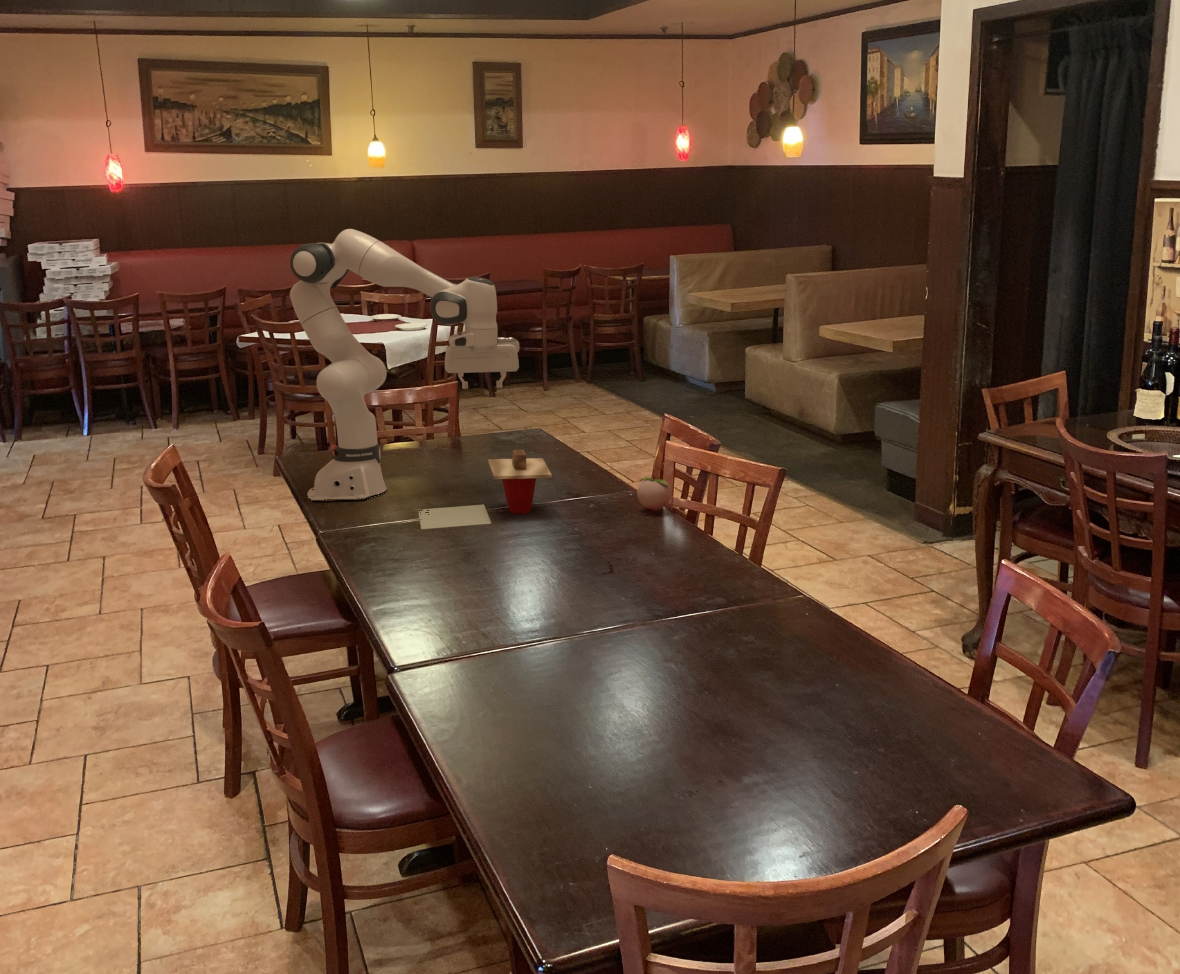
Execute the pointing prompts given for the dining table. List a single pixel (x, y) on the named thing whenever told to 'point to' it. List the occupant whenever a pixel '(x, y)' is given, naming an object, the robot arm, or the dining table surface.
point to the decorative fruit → (654, 493)
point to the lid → (519, 467)
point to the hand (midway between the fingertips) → (482, 388)
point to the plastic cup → (519, 494)
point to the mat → (454, 516)
